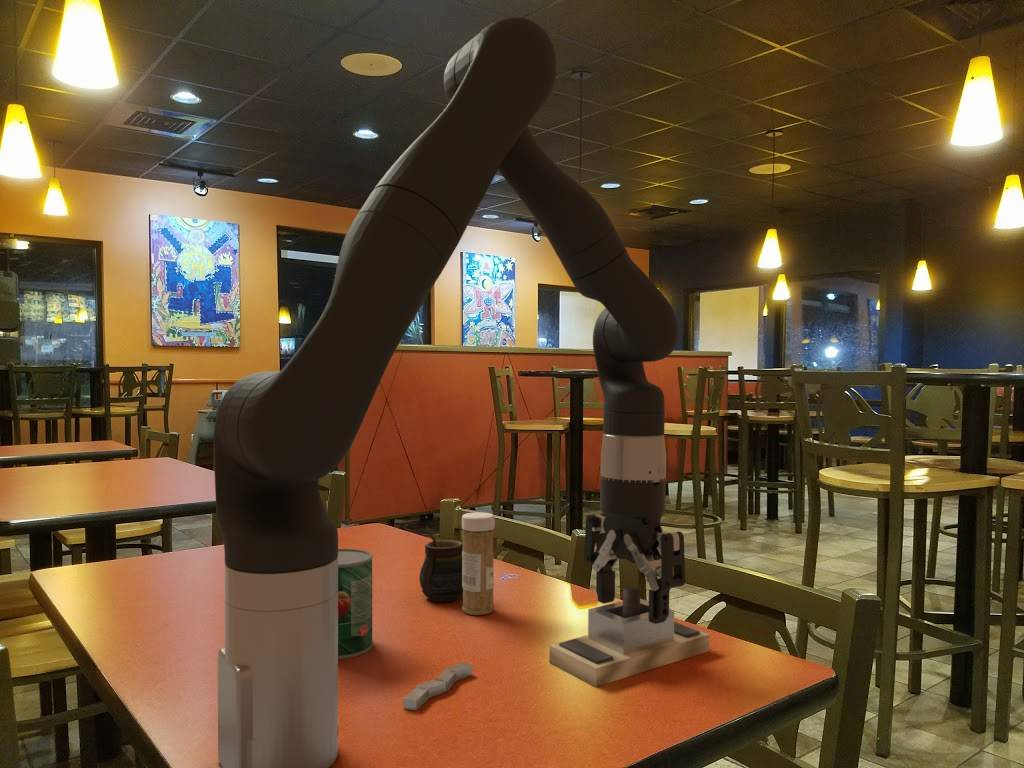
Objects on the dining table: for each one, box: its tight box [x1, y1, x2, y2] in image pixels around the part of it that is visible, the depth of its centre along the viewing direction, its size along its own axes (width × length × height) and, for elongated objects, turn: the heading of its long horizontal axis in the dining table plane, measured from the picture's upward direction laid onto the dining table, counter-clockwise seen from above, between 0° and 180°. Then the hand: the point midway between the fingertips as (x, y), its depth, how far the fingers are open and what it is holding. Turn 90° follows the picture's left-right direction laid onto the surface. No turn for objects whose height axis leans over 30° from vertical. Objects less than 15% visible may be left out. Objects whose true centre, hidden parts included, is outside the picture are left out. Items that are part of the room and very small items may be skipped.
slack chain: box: [402, 661, 473, 711], centre depth 78 cm, size 11×2×1 cm, turn 149°
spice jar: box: [461, 511, 496, 616], centre depth 103 cm, size 5×5×14 cm
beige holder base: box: [548, 585, 710, 688], centre depth 87 cm, size 18×8×8 cm, turn 125°
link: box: [587, 598, 675, 655], centre depth 87 cm, size 8×6×4 cm
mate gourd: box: [418, 526, 463, 603], centre depth 109 cm, size 7×8×10 cm
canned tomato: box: [338, 548, 374, 660], centre depth 90 cm, size 8×8×11 cm
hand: (631, 611), depth 87 cm, fingers open, 8 cm apart
